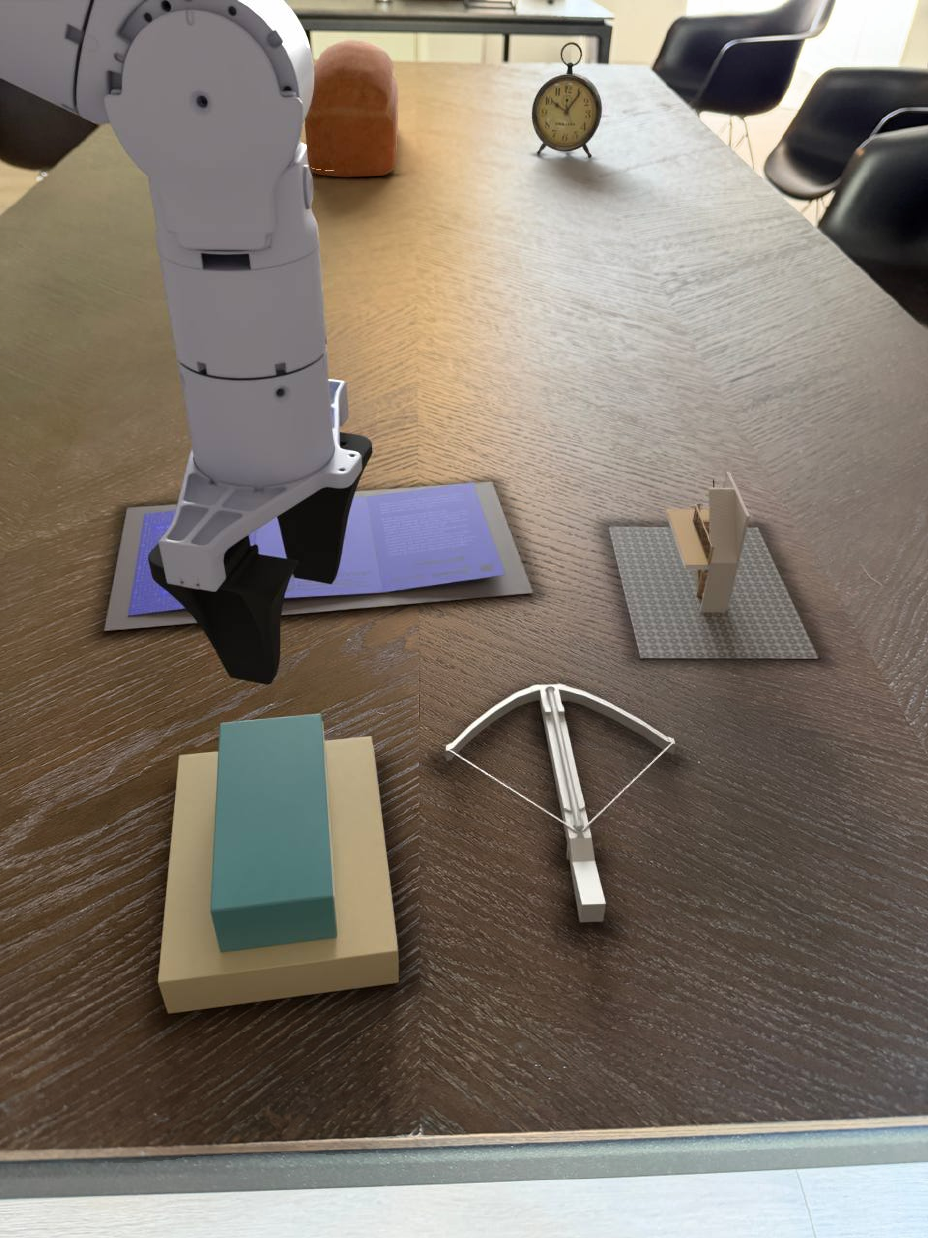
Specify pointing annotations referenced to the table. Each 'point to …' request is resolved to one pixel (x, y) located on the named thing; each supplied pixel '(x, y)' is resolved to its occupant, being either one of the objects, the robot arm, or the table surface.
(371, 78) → the bread
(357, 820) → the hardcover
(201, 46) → the robot arm
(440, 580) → the booklet
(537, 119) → the alarm clock
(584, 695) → the crossbow
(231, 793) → the teal rectangular block
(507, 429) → the table surface
